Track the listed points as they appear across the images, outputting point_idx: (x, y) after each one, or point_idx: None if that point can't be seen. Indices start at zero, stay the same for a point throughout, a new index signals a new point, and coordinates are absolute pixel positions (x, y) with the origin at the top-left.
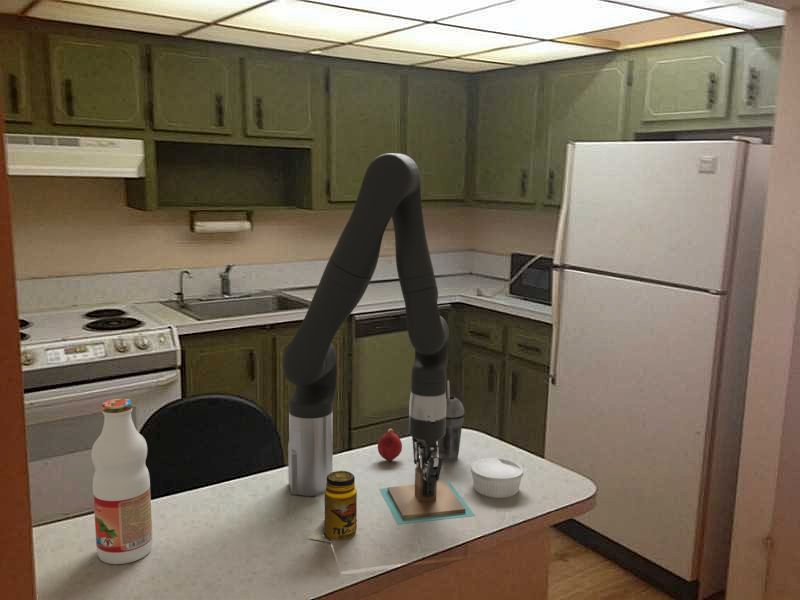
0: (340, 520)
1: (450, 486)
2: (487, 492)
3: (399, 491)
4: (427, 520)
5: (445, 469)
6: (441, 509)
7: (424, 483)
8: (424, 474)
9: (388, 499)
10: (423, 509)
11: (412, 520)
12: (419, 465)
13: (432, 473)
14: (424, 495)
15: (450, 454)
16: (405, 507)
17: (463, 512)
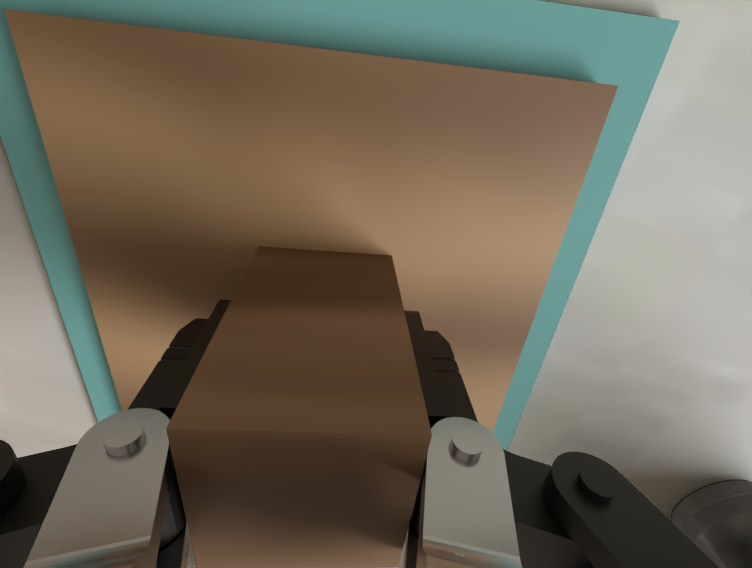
0: None
1: None
2: None
3: (492, 163)
4: (31, 213)
5: (642, 476)
6: (132, 343)
7: (174, 383)
8: (62, 495)
9: (453, 30)
10: (134, 235)
11: (22, 98)
12: (423, 505)
13: (171, 549)
14: (218, 307)
15: (711, 551)
16: (187, 103)
17: None
